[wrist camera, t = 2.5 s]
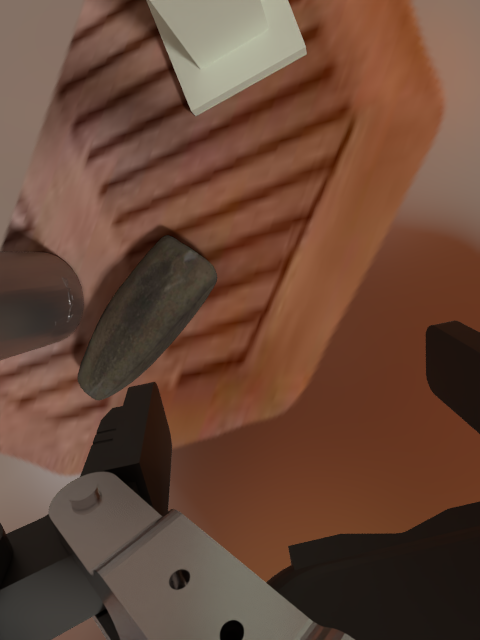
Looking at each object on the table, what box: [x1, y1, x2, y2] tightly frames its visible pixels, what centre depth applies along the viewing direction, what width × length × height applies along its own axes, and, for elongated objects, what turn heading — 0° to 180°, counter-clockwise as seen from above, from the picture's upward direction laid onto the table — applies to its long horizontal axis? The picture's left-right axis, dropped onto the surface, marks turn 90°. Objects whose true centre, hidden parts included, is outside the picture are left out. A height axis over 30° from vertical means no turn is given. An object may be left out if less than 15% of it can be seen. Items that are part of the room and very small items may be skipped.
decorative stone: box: [78, 235, 217, 400], centre depth 37 cm, size 17×6×4 cm, turn 142°
